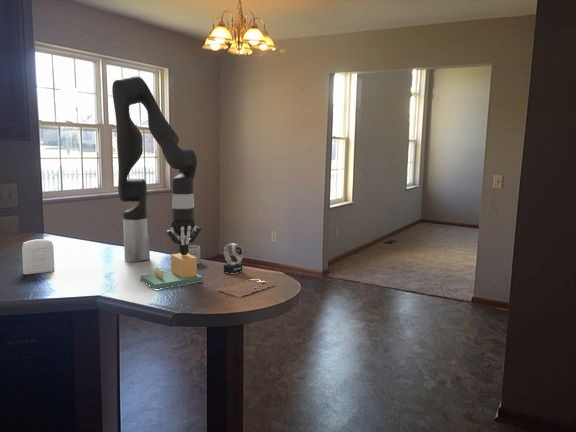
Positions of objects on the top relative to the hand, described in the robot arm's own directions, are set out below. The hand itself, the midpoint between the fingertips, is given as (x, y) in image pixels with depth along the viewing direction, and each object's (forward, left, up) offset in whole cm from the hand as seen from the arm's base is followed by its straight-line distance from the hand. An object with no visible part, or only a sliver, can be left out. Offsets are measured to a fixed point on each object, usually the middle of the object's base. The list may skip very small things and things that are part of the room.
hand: (183, 254), depth 169 cm
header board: (+5, 0, -9) cm, 10 cm away
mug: (-10, -19, -9) cm, 23 cm away
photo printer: (+41, -37, -9) cm, 56 cm away
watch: (-19, +1, -9) cm, 21 cm away
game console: (-13, +21, -10) cm, 27 cm away
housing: (0, 0, -7) cm, 7 cm away
